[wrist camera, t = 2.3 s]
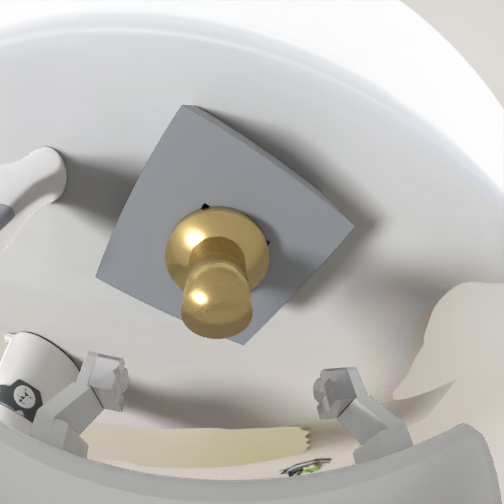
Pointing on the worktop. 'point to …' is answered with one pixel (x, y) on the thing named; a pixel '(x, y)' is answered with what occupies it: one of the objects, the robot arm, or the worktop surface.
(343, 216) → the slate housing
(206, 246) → the brass knob plunger
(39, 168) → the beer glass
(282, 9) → the worktop surface
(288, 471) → the salad plate
